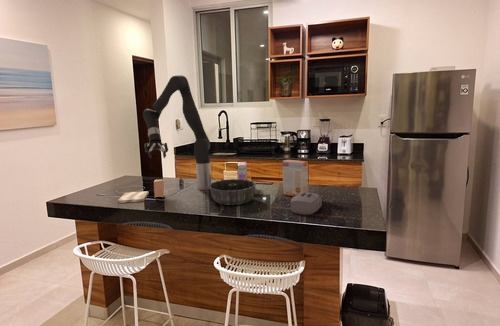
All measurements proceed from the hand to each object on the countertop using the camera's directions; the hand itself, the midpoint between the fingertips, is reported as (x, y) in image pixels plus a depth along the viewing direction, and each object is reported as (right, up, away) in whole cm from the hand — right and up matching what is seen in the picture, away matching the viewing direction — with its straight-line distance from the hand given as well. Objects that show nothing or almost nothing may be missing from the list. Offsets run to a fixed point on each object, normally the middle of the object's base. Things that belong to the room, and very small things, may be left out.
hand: (157, 157), depth 202 cm
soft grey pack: (+88, -27, -39) cm, 100 cm away
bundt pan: (+49, -25, -22) cm, 59 cm away
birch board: (-11, -25, -11) cm, 29 cm away
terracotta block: (+4, -24, -8) cm, 26 cm away
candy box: (+54, -20, +7) cm, 58 cm away
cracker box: (+85, -23, -14) cm, 89 cm away
